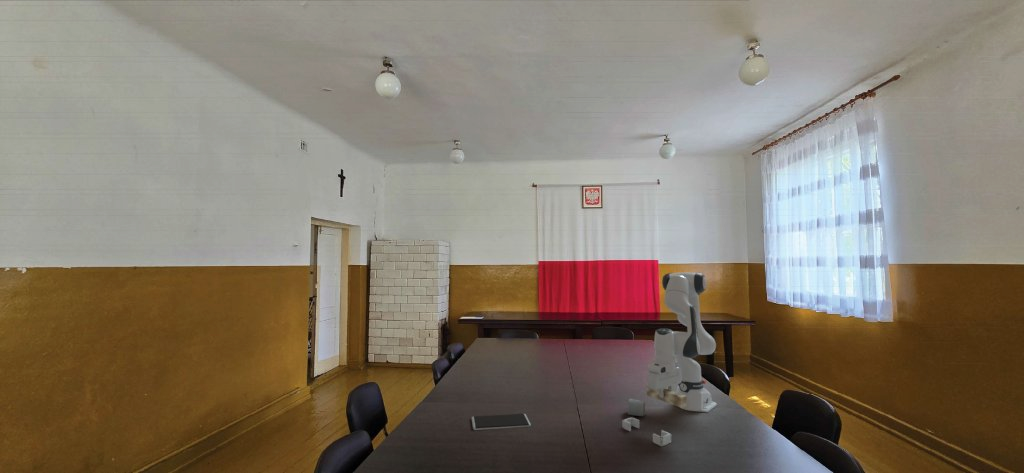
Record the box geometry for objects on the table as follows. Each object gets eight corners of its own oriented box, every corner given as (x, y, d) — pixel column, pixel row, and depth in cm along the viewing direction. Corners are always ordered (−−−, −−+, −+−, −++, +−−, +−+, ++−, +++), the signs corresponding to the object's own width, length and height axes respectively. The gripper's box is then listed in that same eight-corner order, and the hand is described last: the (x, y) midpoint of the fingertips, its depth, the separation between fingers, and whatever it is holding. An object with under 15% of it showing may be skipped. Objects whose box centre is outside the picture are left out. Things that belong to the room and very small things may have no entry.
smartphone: (531, 427, 179) (531, 424, 179) (473, 431, 174) (473, 427, 174) (525, 416, 192) (525, 413, 192) (471, 419, 187) (471, 415, 188)
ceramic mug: (645, 419, 188) (645, 403, 188) (628, 417, 190) (627, 401, 190) (644, 411, 198) (644, 396, 198) (628, 409, 200) (627, 394, 201)
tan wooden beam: (646, 395, 180) (646, 385, 180) (651, 393, 182) (651, 384, 182) (681, 407, 164) (681, 397, 165) (686, 406, 166) (686, 395, 167)
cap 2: (652, 442, 164) (652, 433, 164) (662, 438, 167) (662, 430, 167) (661, 446, 160) (661, 437, 160) (671, 442, 163) (671, 434, 164)
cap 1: (639, 428, 177) (639, 420, 178) (629, 431, 174) (629, 423, 174) (631, 424, 181) (631, 417, 181) (622, 427, 178) (622, 420, 178)
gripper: (672, 360, 182) (673, 389, 181) (644, 367, 171) (645, 398, 170) (684, 363, 177) (685, 393, 176) (656, 370, 166) (657, 403, 165)
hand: (665, 396), depth 173 cm, fingers closed on tan wooden beam, 3 cm apart
